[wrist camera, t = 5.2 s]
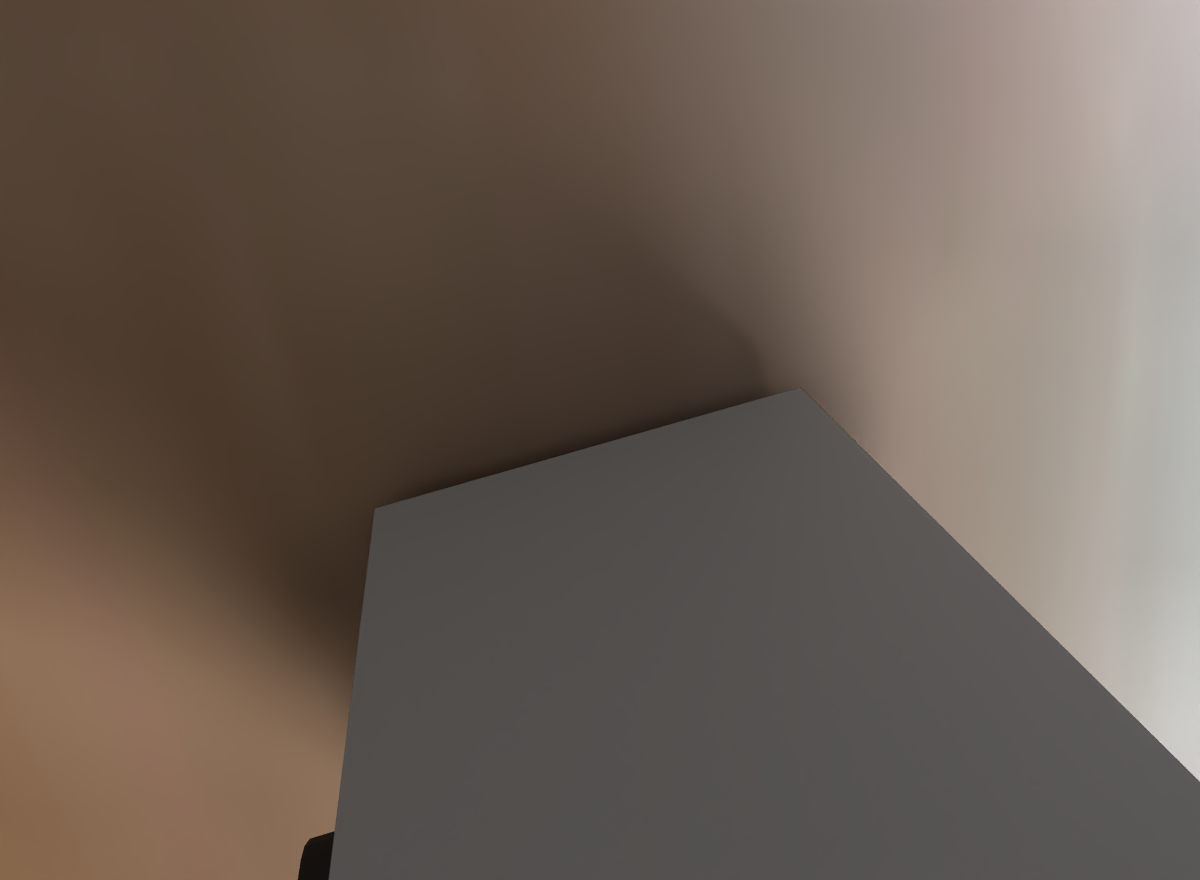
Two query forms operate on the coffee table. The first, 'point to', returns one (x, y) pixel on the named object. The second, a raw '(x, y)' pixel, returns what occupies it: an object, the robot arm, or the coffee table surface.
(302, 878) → the robot arm
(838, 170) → the coffee table surface
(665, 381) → the coffee table surface
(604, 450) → the block
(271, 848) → the coffee table surface
